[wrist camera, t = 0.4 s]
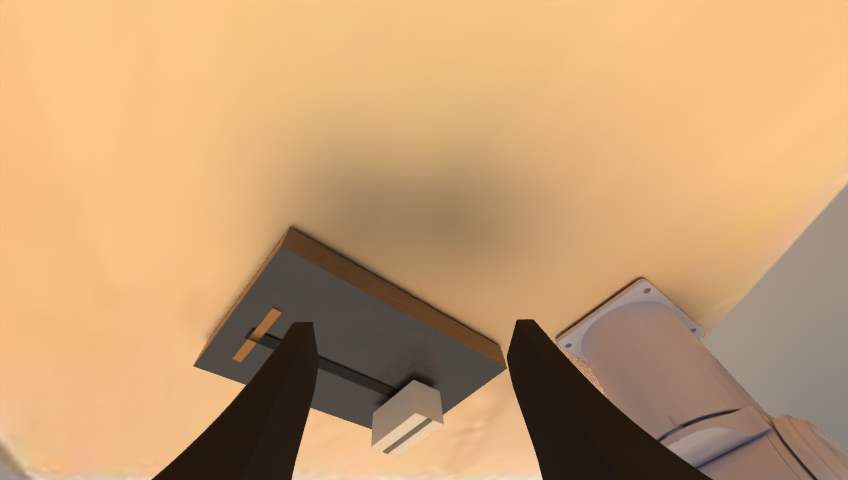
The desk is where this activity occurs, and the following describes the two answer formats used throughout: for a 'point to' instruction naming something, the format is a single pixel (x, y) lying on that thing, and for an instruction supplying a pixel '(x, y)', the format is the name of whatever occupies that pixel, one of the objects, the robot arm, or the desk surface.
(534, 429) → the robot arm
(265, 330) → the fader console
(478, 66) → the desk surface
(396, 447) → the fader knob
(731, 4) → the desk surface
